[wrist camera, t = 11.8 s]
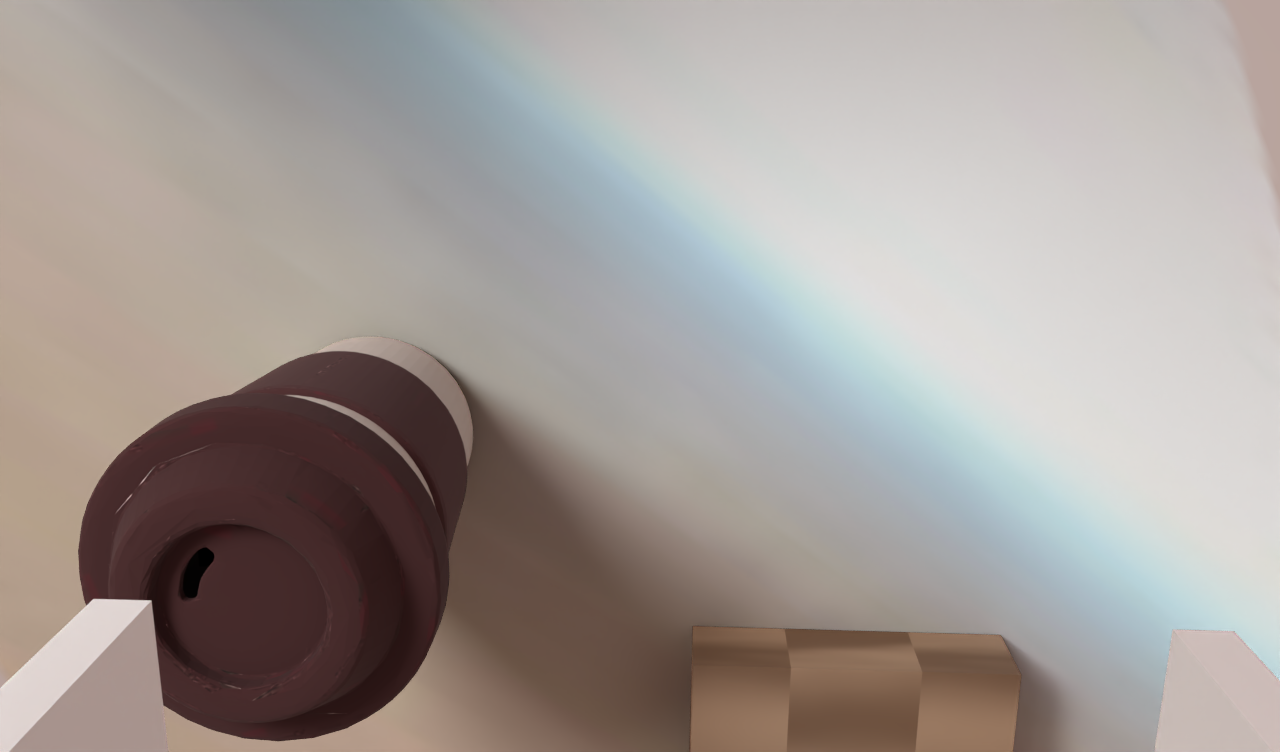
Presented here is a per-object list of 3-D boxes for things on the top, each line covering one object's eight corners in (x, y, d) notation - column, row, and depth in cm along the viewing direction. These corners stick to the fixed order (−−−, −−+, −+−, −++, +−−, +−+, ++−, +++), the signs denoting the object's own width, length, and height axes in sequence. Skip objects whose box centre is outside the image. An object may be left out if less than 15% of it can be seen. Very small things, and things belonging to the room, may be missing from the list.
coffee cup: (558, 478, 45) (498, 685, 31) (339, 587, 47) (185, 832, 33) (424, 250, 43) (292, 359, 29) (199, 372, 45) (-32, 534, 30)
